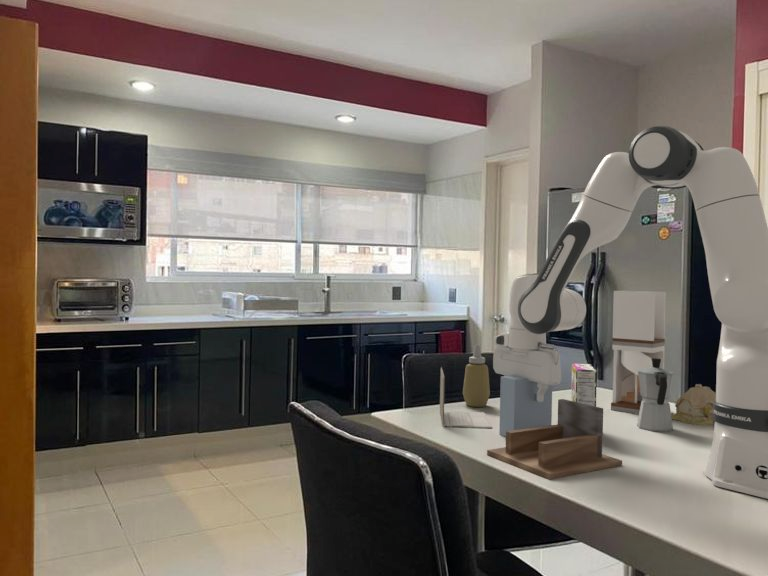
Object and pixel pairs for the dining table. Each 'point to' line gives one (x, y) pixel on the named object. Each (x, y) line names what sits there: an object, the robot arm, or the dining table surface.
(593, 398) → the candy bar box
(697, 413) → the ceramic model
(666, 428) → the coffee maker
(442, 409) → the laptop
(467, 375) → the squeeze bottle
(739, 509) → the dining table surface
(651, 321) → the white coffee grinder
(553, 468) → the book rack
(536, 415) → the book
